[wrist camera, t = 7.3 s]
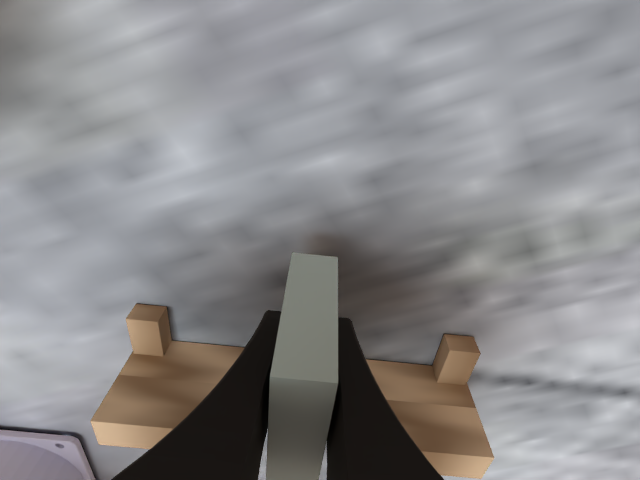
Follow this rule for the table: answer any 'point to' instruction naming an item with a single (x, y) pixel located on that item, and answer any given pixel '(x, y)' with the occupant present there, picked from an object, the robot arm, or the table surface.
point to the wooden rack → (215, 360)
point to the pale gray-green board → (304, 370)
